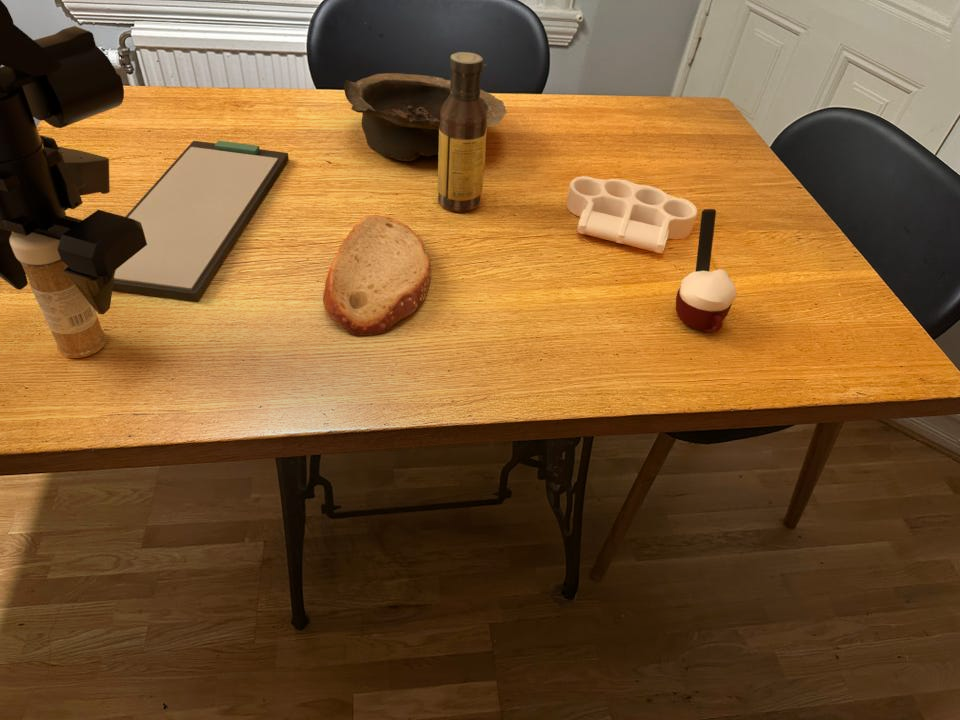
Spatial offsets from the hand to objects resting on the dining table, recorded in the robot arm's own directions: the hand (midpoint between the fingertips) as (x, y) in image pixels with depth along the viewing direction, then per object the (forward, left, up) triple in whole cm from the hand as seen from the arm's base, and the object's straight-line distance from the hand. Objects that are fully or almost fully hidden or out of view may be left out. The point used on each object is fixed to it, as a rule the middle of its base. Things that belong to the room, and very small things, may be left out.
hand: (63, 299), depth 67 cm
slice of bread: (+31, +6, -6) cm, 32 cm away
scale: (+11, +23, -6) cm, 27 cm away
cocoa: (+67, -9, -6) cm, 68 cm away
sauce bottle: (+46, +21, -6) cm, 51 cm away
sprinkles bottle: (0, 0, -6) cm, 6 cm away
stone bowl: (+46, +40, -6) cm, 61 cm away
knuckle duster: (+68, +12, -6) cm, 69 cm away
